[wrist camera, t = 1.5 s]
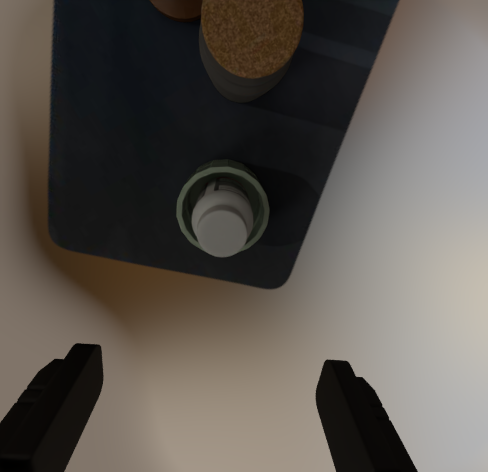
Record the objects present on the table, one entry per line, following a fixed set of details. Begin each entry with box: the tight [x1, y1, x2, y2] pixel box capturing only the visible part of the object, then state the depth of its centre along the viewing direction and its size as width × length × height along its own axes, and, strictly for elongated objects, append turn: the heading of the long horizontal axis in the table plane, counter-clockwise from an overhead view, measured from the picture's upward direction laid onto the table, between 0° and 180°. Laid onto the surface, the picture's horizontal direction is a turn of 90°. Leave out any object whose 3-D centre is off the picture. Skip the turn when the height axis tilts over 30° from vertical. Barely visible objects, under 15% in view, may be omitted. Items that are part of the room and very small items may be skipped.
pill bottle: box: [192, 176, 253, 257], centre depth 27 cm, size 5×5×10 cm
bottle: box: [199, 0, 304, 103], centre depth 20 cm, size 6×6×15 cm
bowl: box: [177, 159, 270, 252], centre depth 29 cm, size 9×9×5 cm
